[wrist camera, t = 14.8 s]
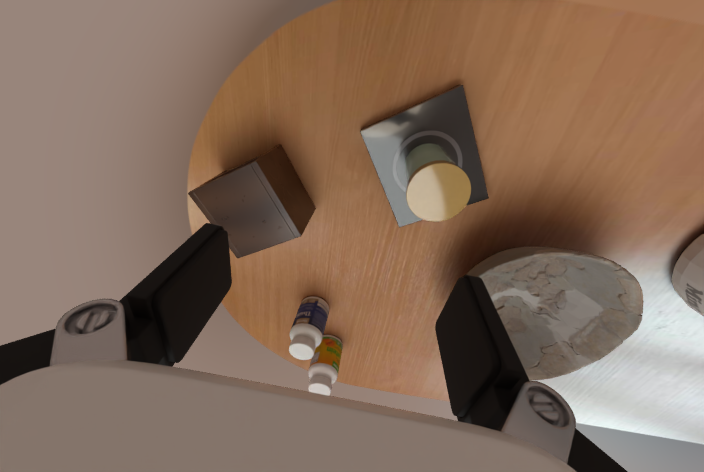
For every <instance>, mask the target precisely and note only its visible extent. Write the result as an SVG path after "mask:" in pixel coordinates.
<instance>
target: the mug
mask: <svg viewBox="0 0 704 472" xmlns="http://www.w3.org/2000/svg"><path fill="white" fill-rule="evenodd" d="M672 282H673V287H674V290H675V291H676V292H677V293H678V294H679V295H680V297H681V298H682V299H683V300H684V301H685V302H686V304H687V305H688V306H689V307H691V308H692V309H694V310H695V311H697V312H698V313H700V314H701V315H703V316H704V233H703V234H702V235H700V236H699V237H698V238H696V239H695V240H694V241H693V242H692V243H691V244H690V245H689V246H688V247H687V248H686V249H685V250H684V251H683V252H682V254H681V256H680V257H679V259H678V261H677V262H676V264H675V267H674V270H673V275H672Z"/></svg>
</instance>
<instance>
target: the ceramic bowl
mask: <svg viewBox="0 0 704 472" xmlns="http://www.w3.org/2000/svg"><path fill="white" fill-rule="evenodd" d="M466 275H471V276H476V277H480V278H481V279H482V280H483V282H484V284H485V286H486V289H487V291H488V293H489V295H490V297H491V299H492V301H493V303H494V306H495V308H496V310H497V312H498V314H499V316H500V318H501V320H502V323H503V325H504V327H505V329H506V331H507V333H508V335H509V338H510V340H511V342H512V344H513V346H514V348H515V350H516V352H517V355H518V357H519V359H520V361H521V363H522V365H523V367H524V370H525V372H526V374H527V376H528V378H529V380H542V379H550V378H554V377H558V376H562V375H565V374H568V373H571V372H574V371H576V370H578V369H580V368H582V367H584V366H587V365H589V364H591V363H593V362H595V361H597V360H600V359H601V358H603V357H604V356H606V355H607V354H609V353H610V352H611V351H613V350H614V349H615V348H617V347H618V346H619V345H620V344H622V343H623V341H624V340H625V339H627V338H628V337H629V336H631V335H632V334H633V332H634V331H636V330H637V329H638V327H639V325H640V322H641V320H642V315H640V314H642V313H643V293H642V289H641V287H640V285H639V282H638V281H637V279H636V278H635V277H634V276H633V275H632V274H631V273H629V272H628V271H627V270H626V269H625V268H623V267H621V265H618V264H617V263H615V262H614V261H611V260H609V259H606V258H603V257H599V256H595V255H591V254H587V253H583V252H579V251H573V250H568V249H562V248H553V247H518V248H512V249H508V250H504V251H500V252H498V253H496V254H494V255H492V256H490V257H488V258H487V259H485V260H483V261H482V262H480V263H479V264H477V265H476V266H475V267H473V268H472V269H471V270H470V271H469V272H468V273H467V274H466Z"/></svg>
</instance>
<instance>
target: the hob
mask: <svg viewBox="0 0 704 472" xmlns="http://www.w3.org/2000/svg"><path fill="white" fill-rule="evenodd" d="M360 132H361V135H362V137H363V140H364V142H365V145H366V147H367V149H368V152H369V154H370V157H371V159H372V162H373V164H374V167H375V169H376V171H377V174H378V176H379V179H380V181H381V184H382V186H383V189H384V191H385V194H386V196H387V198H388V201H389V203H390V206H391V208H392V211H393V213H394V216H395V218H396V220H397V223H398V225H399V227H402V226H405V225H408V224H411V223H414V222H417V221H420V220H423V219H421V218H419V217H417V216H416V215H415V214H414V213H413V212H412V211H411V210H410V208H409V206H408V204H407V199H406V181H405V175H404V163H405V160H406V157H407V156H408V154H409V153H410V152H411V151H412V150H413V149H414V148H416V147H418V146H420V145H422V144H429V143H430V144H436V145H439V146H441V147H442V148H444V149H445V150H446V152H447V153H448V154H449V156H450V157H451V158H452V160H453V161H454V162H455V164H457V165H458V166H459V167H461V168H462V169H463V171H464V172H465V173H466V175H467V176H468V178H469V180H470V184H471V195H470V198H469V201H468V203H467V204H466V205H469V204H473V203H476V202H479V201H482V200H485V199H488V198H489V197H488V193H487V189H486V184H485V180H484V175H483V171H482V167H481V162H480V158H479V154H478V149H477V145H476V140H475V136H474V132H473V127H472V123H471V118H470V114H469V110H468V105H467V101H466V96H465V92H464V88H463V85H457V86H455V87H453V88H451V89H449V90H446V91H444V92H442V93H440V94H438V95H435V96H433V97H431V98H429V99H427V100H424V101H422V102H420V103H418V104H416V105H413V106H411V107H409V108H407V109H405V110H402V111H400V112H398V113H396V114H394V115H391V116H389V117H387V118H385V119H383V120H380V121H378V122H376V123H374V124H372V125H369V126H367V127H365V128H363V129H361V131H360Z"/></svg>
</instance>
